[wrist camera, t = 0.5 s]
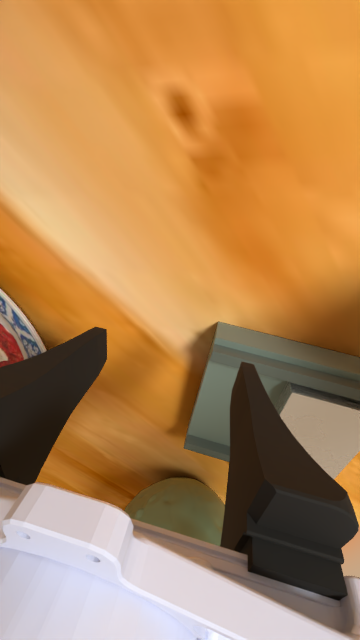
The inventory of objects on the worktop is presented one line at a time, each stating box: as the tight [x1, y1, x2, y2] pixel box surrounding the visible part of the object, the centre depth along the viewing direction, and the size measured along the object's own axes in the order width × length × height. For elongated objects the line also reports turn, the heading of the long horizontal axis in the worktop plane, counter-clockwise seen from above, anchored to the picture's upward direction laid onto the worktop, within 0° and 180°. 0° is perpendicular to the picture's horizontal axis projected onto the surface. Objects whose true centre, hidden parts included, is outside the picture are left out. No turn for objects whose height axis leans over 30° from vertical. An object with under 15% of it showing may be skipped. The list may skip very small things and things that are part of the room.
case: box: [184, 322, 360, 462], centre depth 25 cm, size 14×14×4 cm
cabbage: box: [124, 478, 225, 546], centre depth 29 cm, size 16×19×20 cm
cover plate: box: [274, 382, 360, 479], centre depth 23 cm, size 7×10×2 cm
